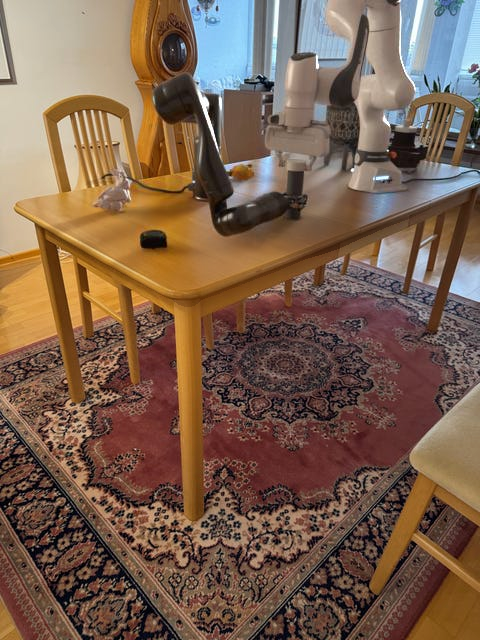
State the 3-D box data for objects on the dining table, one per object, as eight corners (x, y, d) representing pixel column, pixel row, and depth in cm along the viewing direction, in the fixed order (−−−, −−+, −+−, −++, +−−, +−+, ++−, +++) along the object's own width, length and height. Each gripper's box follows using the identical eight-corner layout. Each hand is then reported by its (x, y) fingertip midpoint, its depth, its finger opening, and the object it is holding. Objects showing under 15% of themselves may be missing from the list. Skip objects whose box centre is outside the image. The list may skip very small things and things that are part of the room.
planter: (313, 167, 208) (319, 103, 195) (331, 160, 222) (338, 101, 209) (353, 173, 199) (362, 107, 185) (369, 166, 213) (379, 104, 199)
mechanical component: (374, 119, 196) (402, 114, 215) (366, 169, 206) (394, 160, 226) (423, 124, 184) (449, 118, 203) (412, 177, 194) (437, 167, 214)
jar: (301, 219, 141) (306, 164, 133) (286, 219, 140) (290, 164, 132) (298, 214, 145) (302, 161, 137) (283, 215, 145) (286, 161, 136)
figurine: (140, 206, 149) (137, 167, 143) (105, 217, 138) (99, 175, 132) (123, 202, 153) (119, 163, 146) (87, 213, 142) (81, 171, 136)
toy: (223, 172, 179) (229, 164, 192) (228, 188, 182) (234, 178, 195) (249, 163, 176) (253, 155, 188) (254, 179, 179) (258, 170, 191)
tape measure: (140, 252, 115) (139, 238, 113) (141, 242, 120) (140, 229, 119) (167, 251, 116) (166, 237, 114) (167, 241, 121) (166, 228, 120)
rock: (345, 148, 251) (347, 136, 248) (358, 151, 246) (360, 138, 242) (330, 151, 244) (331, 138, 240) (343, 154, 238) (344, 141, 235)
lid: (292, 166, 139) (293, 158, 138) (309, 169, 136) (310, 160, 135) (282, 169, 135) (283, 160, 134) (299, 172, 132) (300, 163, 131)
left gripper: (290, 198, 124) (320, 187, 136) (248, 190, 132) (279, 179, 143) (288, 225, 128) (317, 211, 140) (247, 215, 135) (278, 203, 147)
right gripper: (336, 121, 126) (330, 172, 133) (274, 114, 136) (272, 162, 143) (325, 123, 121) (320, 175, 128) (262, 116, 132) (260, 165, 139)
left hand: (298, 195), depth 142 cm, fingers closed on jar, 5 cm apart
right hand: (294, 168), depth 136 cm, fingers open, 8 cm apart
